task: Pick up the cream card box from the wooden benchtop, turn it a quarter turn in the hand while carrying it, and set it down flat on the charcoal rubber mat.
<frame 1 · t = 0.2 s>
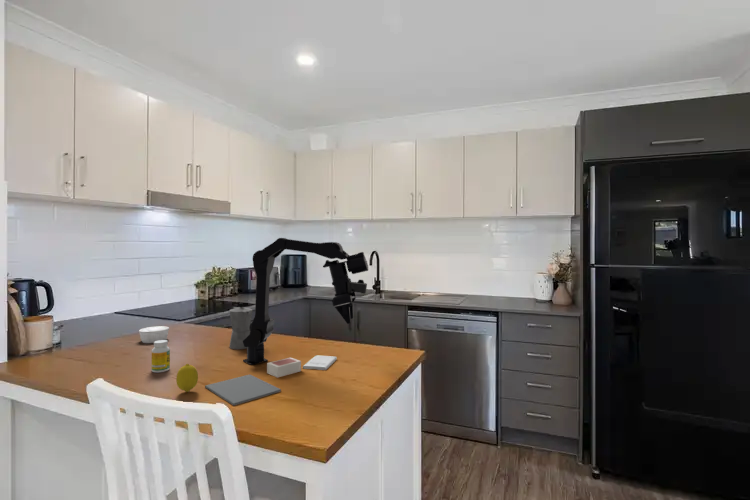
hand: (350, 321, 136), 15 cm above the counter, tool pointing down, fingers open, 9 cm apart
supplement bottle: (160, 370, 129), on the counter
card box: (284, 373, 128), on the counter
ramekin: (154, 341, 168), on the counter
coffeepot: (239, 346, 160), on the counter
mat: (242, 389, 112), on the counter
lemon: (187, 392, 110), on the counter
external hard drive: (320, 365, 137), on the counter
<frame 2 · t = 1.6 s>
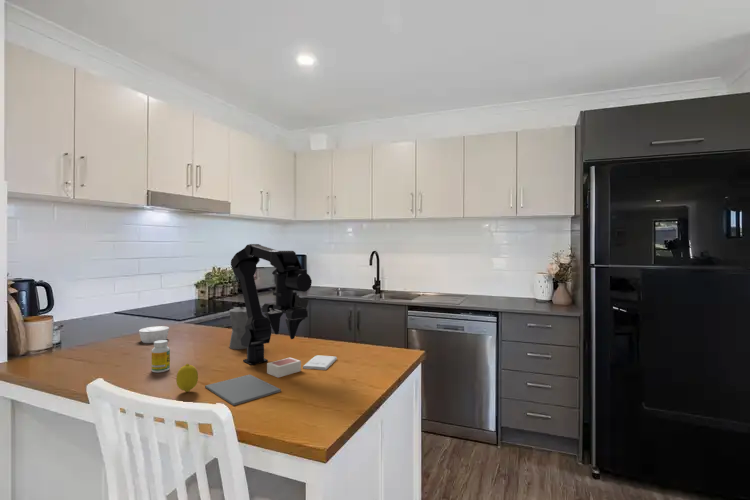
hand: (284, 336, 128), 12 cm above the counter, tool pointing down, fingers open, 9 cm apart
nothing on the counter moved.
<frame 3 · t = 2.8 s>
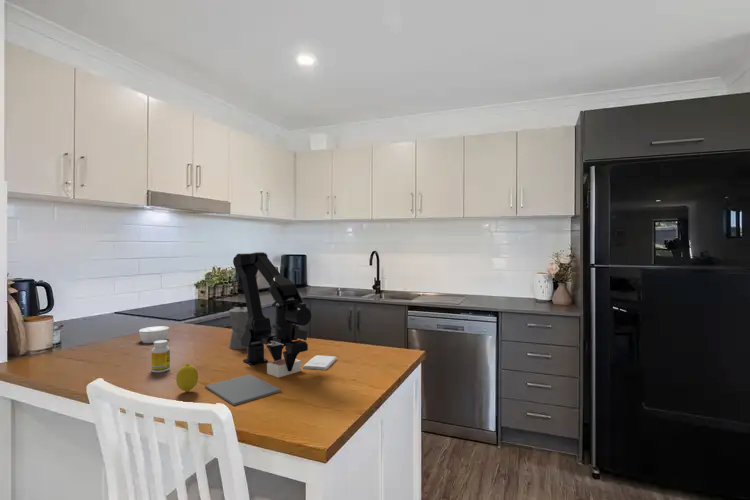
hand: (284, 368, 128), 1 cm above the counter, tool pointing down, fingers closed on card box, 6 cm apart
card box: (284, 372, 128), on the counter, touching gripper
everything else where it was.
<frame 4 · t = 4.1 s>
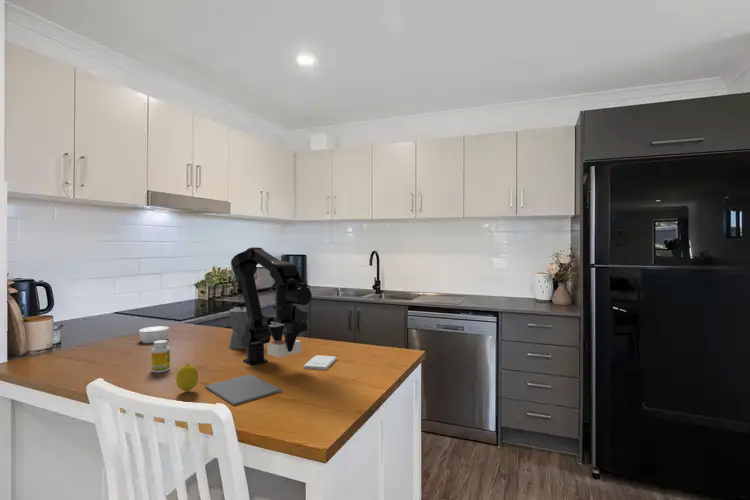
hand: (284, 349, 127), 7 cm above the counter, tool pointing down, fingers closed on card box, 6 cm apart
card box: (284, 352, 128), point 6 cm above the counter, touching gripper
everything else where it was.
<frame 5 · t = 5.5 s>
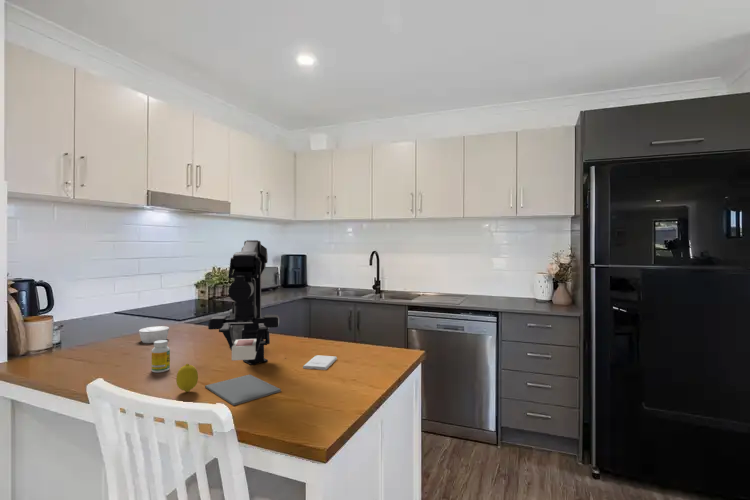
hand: (244, 351, 111), 11 cm above the counter, tool pointing down, fingers closed on card box, 6 cm apart
card box: (244, 355, 111), point 10 cm above the counter, touching gripper
everything else where it was.
when the fingers open (3 cm above the counter, at t = 7.5 s): card box stays where it is, resting on mat.
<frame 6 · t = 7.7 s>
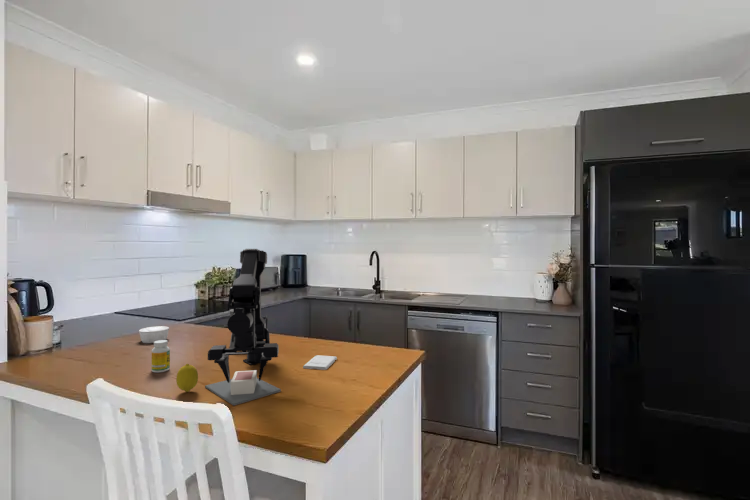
hand: (244, 381, 111), 3 cm above the counter, tool pointing down, fingers open, 8 cm apart
card box: (244, 388, 111), point 1 cm above the counter, touching mat
everything else where it was.
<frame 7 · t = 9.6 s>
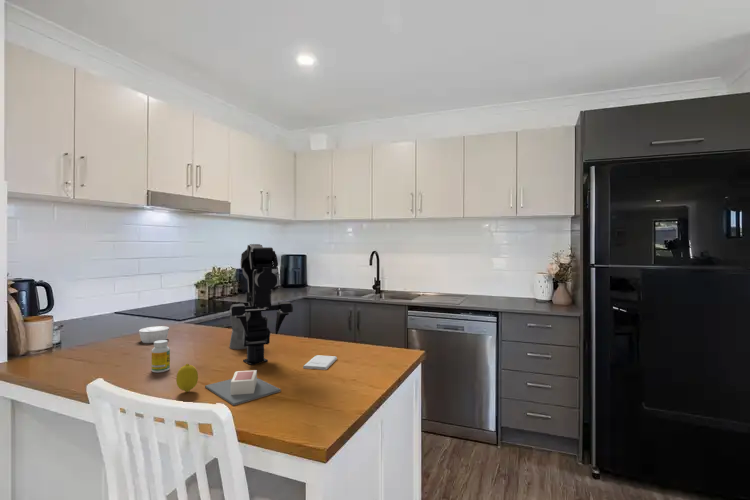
hand: (261, 335, 125), 13 cm above the counter, tool pointing down, fingers open, 9 cm apart
nothing on the counter moved.
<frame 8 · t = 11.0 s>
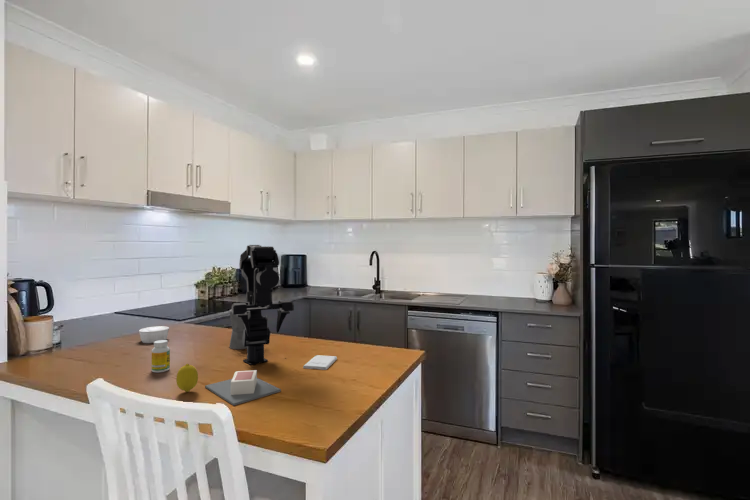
hand: (263, 333, 125), 13 cm above the counter, tool pointing down, fingers open, 9 cm apart
nothing on the counter moved.
at the end: card box inside the target area on the mat (1.0 cm from its centre), point 0.6 cm above the mat's base; card box tilted 0°; the gripper is holding nothing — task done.
